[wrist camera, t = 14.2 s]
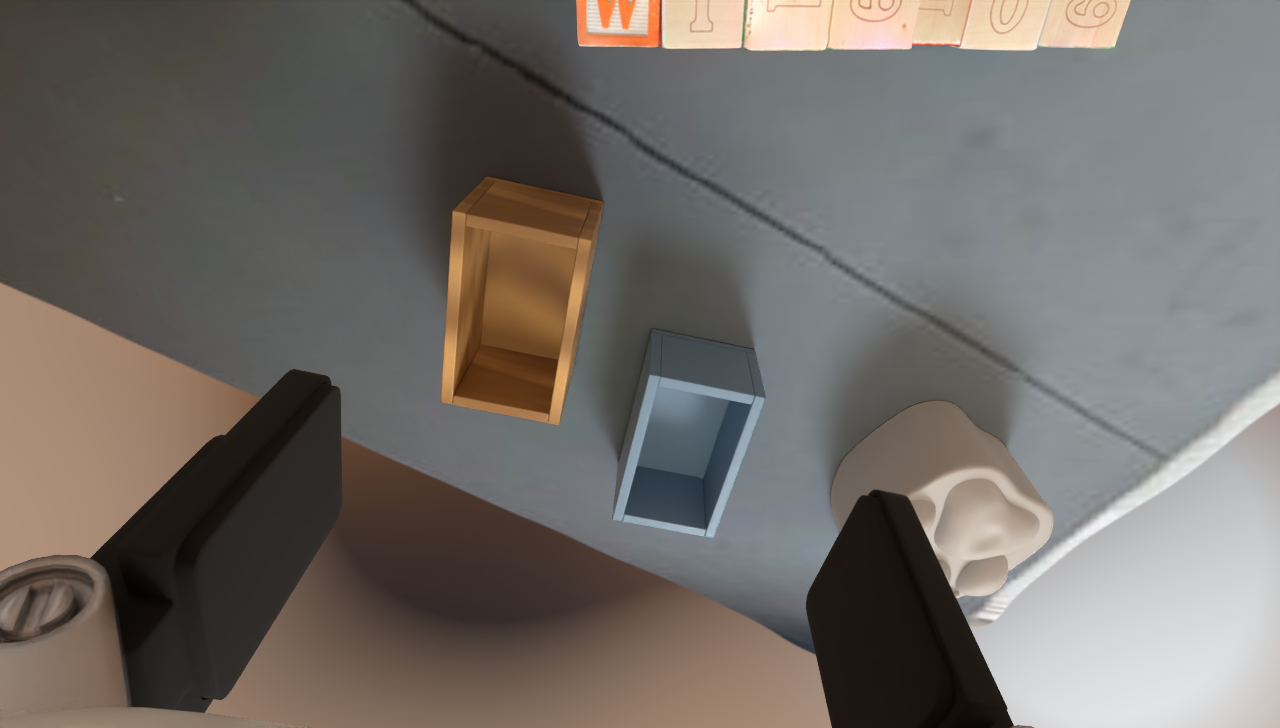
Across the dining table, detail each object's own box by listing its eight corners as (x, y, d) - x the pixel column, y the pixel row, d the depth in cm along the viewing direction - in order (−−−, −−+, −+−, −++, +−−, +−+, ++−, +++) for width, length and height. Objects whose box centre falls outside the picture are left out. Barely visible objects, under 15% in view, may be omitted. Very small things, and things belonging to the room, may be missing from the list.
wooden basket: (574, 367, 45) (558, 425, 39) (471, 346, 45) (440, 402, 39) (604, 201, 39) (591, 240, 33) (486, 175, 39) (452, 210, 33)
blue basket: (709, 481, 50) (713, 538, 45) (618, 464, 49) (612, 519, 44) (755, 349, 44) (766, 397, 39) (651, 328, 43) (649, 374, 38)
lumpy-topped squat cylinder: (1024, 460, 48) (1089, 548, 40) (887, 555, 53) (923, 649, 46) (930, 384, 45) (982, 464, 37) (796, 493, 50) (818, 582, 43)
